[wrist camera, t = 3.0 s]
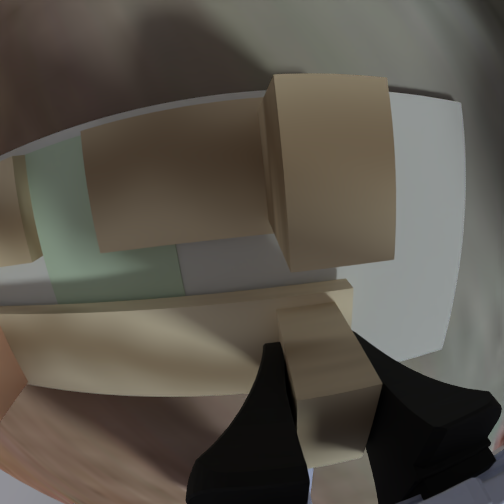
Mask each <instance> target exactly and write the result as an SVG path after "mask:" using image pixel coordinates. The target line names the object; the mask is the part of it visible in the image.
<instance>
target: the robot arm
mask: <svg viewBox="0 0 504 504" xmlns="http://www.w3.org/2000/svg"><path fill="white" fill-rule="evenodd" d="M353 333H354V335H355V336H356V338H357V340H358V341H359V343H360V345H361V347H362V348H363V350H364V352H365V353H366V355H367V357H368V359H369V360H370V362H371V364H372V366H373V367H374V369H375V371H376V373H377V374H378V376H379V378H380V380H381V382H382V383H383V384H382V388H381V392H380V396H379V401H378V405H377V408H376V412H375V416H374V420H373V423H372V427H371V430H370V434H369V437H368V440H367V444H366V450H367V453H368V457H369V461H370V465H371V469H372V473H373V477H374V482H375V487H376V492H377V498H378V504H504V449H503V450H502V451H500V452H499V453H497V454H496V455H493V454H492V452H491V451H490V449H489V448H488V447H489V446H490V445H491V442H490V440H489V439H488V435H489V434H490V432H491V431H492V429H493V428H494V426H495V424H496V423H497V421H498V419H499V417H500V414H501V410H502V408H501V405H500V404H499V403H498V402H497V400H496V399H495V398H494V397H493V396H492V394H491V393H490V392H489V391H481V390H473V389H467V388H462V387H458V386H454V385H450V384H447V383H443V382H441V381H438V380H435V379H432V378H429V377H427V376H425V375H422V374H420V373H418V372H416V371H414V370H412V369H410V368H408V367H406V366H404V365H402V364H401V363H399V362H397V361H396V360H394V359H392V358H391V357H389V356H388V355H386V354H385V353H383V352H382V351H380V350H379V349H378V348H376V347H375V346H373V345H372V344H371V343H369V342H368V341H367V340H365V339H364V338H363V337H361V336H360V335H359V334H357V333H356V332H354V331H353ZM312 476H313V468H310V469H307V464H306V461H305V458H304V455H303V452H302V449H301V445H300V442H299V439H298V435H297V431H296V428H295V424H294V420H293V416H292V412H291V408H290V404H289V400H288V395H287V391H286V383H285V367H284V353H283V349H282V346H281V343H280V342H273V343H265V344H264V345H263V353H262V359H261V363H260V366H259V370H258V373H257V376H256V378H255V381H254V383H253V386H252V388H251V390H250V392H249V395H248V397H247V398H246V400H245V402H244V404H243V406H242V407H241V409H240V411H239V412H238V414H237V415H236V417H235V418H234V420H233V421H232V423H231V424H230V425H229V427H228V428H227V429H226V430H225V431H224V433H223V434H222V435H221V436H220V437H219V438H218V440H217V441H216V442H215V443H214V444H213V445H212V446H211V447H210V448H209V449H208V450H207V451H206V452H204V453H203V454H202V455H201V456H200V457H199V458H198V459H197V460H196V461H195V464H194V466H193V469H192V471H191V474H190V477H189V481H188V485H187V493H186V503H187V504H312V501H311V495H310V493H311V485H312Z"/></svg>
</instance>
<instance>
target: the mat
mask: <svg viewBox="0 0 504 504" xmlns="http://www.w3.org/2000/svg"><path fill="white" fill-rule="evenodd" d="M266 91H267V90H260V91H248V92H237V93H228V94H219V95H212V96H204V97H197V98H191V99H185V100H179V101H174V102H168V103H163V104H158V105H153V106H148V107H144V108H139V109H135V110H131V111H127V112H123V113H119V114H115V115H111V116H108V117H104V118H101V119H97V120H94V121H90V122H87V123H84V124H81V125H78V126H74V127H71V128H68V129H66V130H63V131H60V132H57V133H54V134H51V135H49V136H46V137H43V138H41V139H38V140H36V141H33V142H31V143H28V144H26V145H23V146H21V147H19V148H16V149H14V150H12V151H10V152H7V153H5V154H3V155H1V156H0V161H2V160H4V159H7V158H9V157H11V156H18V155H25V161H26V170H27V178H28V185H29V191H30V197H31V203H32V209H33V214H34V219H35V224H36V228H37V233H38V237H39V241H40V245H41V249H42V253H43V256H42V257H40V258H39V259H37V260H35V261H34V262H32V263H26V264H19V265H12V266H5V267H0V306H26V305H55V304H78V303H97V302H114V301H129V300H143V299H157V298H169V297H182V296H193V295H204V294H215V293H225V292H235V291H245V290H254V289H263V288H272V287H281V286H290V285H298V284H306V283H314V282H322V281H330V280H337V279H345V278H346V279H347V280H348V282H349V283H350V284H351V285H352V287H353V288H354V289H353V309H352V324H351V330H352V331H354V332H356V333H357V334H359V335H360V336H361V337H363V338H364V339H365V340H367V341H368V342H369V343H371V344H372V345H373V346H375V347H376V348H378V349H379V350H380V351H382V352H383V353H385V354H386V355H388V356H389V357H391V358H392V359H394V360H396V361H397V362H400V361H404V360H407V359H411V358H414V357H418V356H421V355H425V354H428V353H431V352H435V351H438V350H441V349H442V347H443V343H444V339H445V336H446V332H447V328H448V323H449V319H450V315H451V310H452V305H453V300H454V295H455V290H456V284H457V278H458V272H459V265H460V257H461V249H462V240H463V229H464V215H465V192H466V162H465V139H464V125H463V115H462V106H461V103H460V102H455V101H450V100H445V99H439V98H433V97H426V96H420V95H412V94H404V93H395V92H389V96H390V104H391V113H392V123H393V135H394V149H395V169H396V235H395V256H394V260H388V261H381V262H373V263H365V264H358V265H350V266H342V267H334V268H326V269H318V270H310V271H301V272H292V273H291V272H290V269H289V267H288V265H287V262H286V260H285V258H284V255H283V253H282V251H281V248H280V246H279V244H278V241H277V239H276V237H275V234H264V235H254V236H245V237H236V238H227V239H218V240H209V241H200V242H191V243H182V244H174V245H165V246H157V247H149V248H140V249H132V250H124V251H116V252H108V253H100V250H99V246H98V241H97V237H96V232H95V228H94V223H93V218H92V212H91V207H90V201H89V195H88V189H87V183H86V176H85V169H84V161H83V152H82V143H81V132H80V131H82V130H85V129H89V128H92V127H96V126H99V125H103V124H106V123H110V122H114V121H118V120H122V119H126V118H130V117H134V116H139V115H143V114H148V113H152V112H157V111H162V110H167V109H173V108H178V107H184V106H190V105H197V104H204V103H211V102H219V101H227V100H236V99H247V98H259V97H264V95H265V93H266Z"/></svg>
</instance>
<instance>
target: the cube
mask: <svg viewBox="0 0 504 504" xmlns="http://www.w3.org/2000/svg"><path fill="white" fill-rule="evenodd" d="M27 383H28V380H27V379H26V377H25V375H24V373H23V371H22V370H21V368H20V366H19V364H18V362H17V360H16V358H15V356H14V354H13V352H12V350H11V348H10V346H9V344H8V342H7V340H6V337H5V335H4V333H3V331H2V328H1V326H0V422H1V420H2V419H3V417H4V416H5V414H6V413H7V411H8V410H9V408H10V407H11V405H12V404H13V402H14V401H15V400H16V398H17V397H18V395H19V394H20V392H21V391H22V390H23V388H24V387H25V385H26V384H27Z"/></svg>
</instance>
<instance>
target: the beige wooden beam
mask: <svg viewBox="0 0 504 504" xmlns="http://www.w3.org/2000/svg"><path fill="white" fill-rule="evenodd" d="M353 289H354V288H353V287H352V285H351V284H350V283H349V282H348V280H347V279H346V278H345V279H337V280H330V281H322V282H314V283H306V284H298V285H290V286H281V287H272V288H263V289H254V290H245V291H235V292H225V293H215V294H204V295H193V296H182V297H169V298H157V299H143V300H129V301H114V302H97V303H78V304H55V305H26V306H0V326H1V328H2V331H3V333H4V335H5V337H6V340H7V342H8V344H9V346H10V348H11V350H12V352H13V354H14V356H15V358H16V360H17V362H18V364H19V366H20V368H21V370H22V371H23V373H24V375H25V377H26V379H27V380H28V383H27V384H29V385H34V386H40V387H46V388H53V389H60V390H67V391H76V392H85V393H95V394H108V395H123V396H149V397H188V396H215V395H231V394H244V393H249V392H250V390H251V388H252V386H253V383H254V381H255V378H256V376H257V373H258V370H259V366H260V363H261V359H262V353H263V345H264V344H265V343H273V342H280V343H281V346H282V349H283V353H284V367H285V383H286V391H287V395H288V400H289V404H290V408H291V412H292V416H293V420H294V424H295V428H296V431H297V435H298V439H299V442H300V445H301V449H302V452H303V455H304V458H305V461H306V464H307V469H310V468H316V467H321V466H326V465H331V464H336V463H340V462H345V461H349V460H353V459H357V458H361V457H362V456H363V453H364V450H365V447H366V444H367V440H368V437H369V434H370V430H371V427H372V423H373V420H374V416H375V412H376V408H377V405H378V401H379V396H380V392H381V388H382V384H383V383H382V382H381V380H380V378H379V376H378V374H377V373H376V371H375V369H374V367H373V366H372V364H371V362H370V360H369V359H368V357H367V355H366V353H365V352H364V350H363V348H362V347H361V345H360V343H359V341H358V340H357V338H356V336H355V335H354V333H353V331H352V330H351V324H352V309H353Z"/></svg>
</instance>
